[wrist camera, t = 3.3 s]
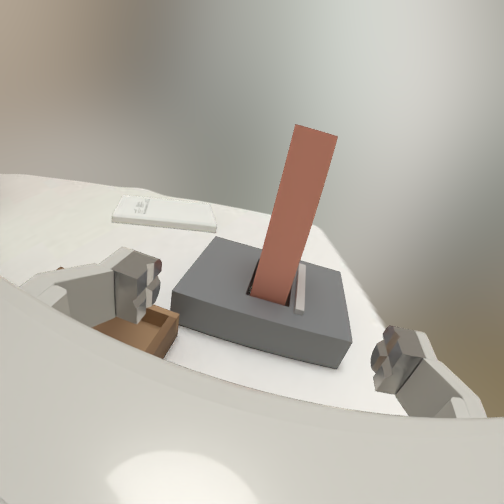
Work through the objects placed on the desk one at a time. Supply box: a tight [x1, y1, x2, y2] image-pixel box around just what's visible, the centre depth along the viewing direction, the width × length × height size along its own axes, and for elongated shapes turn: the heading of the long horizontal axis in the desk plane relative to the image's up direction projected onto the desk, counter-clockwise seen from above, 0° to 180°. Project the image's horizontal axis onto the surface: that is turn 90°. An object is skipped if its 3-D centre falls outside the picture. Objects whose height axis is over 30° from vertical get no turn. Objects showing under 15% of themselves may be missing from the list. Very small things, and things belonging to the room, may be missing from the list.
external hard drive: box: [112, 195, 217, 233], centre depth 36 cm, size 2×8×12 cm
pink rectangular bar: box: [250, 124, 338, 306], centre depth 21 cm, size 2×5×14 cm, turn 170°
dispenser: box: [170, 236, 352, 369], centre depth 23 cm, size 12×10×3 cm
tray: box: [57, 267, 179, 359], centre depth 14 cm, size 10×10×2 cm
